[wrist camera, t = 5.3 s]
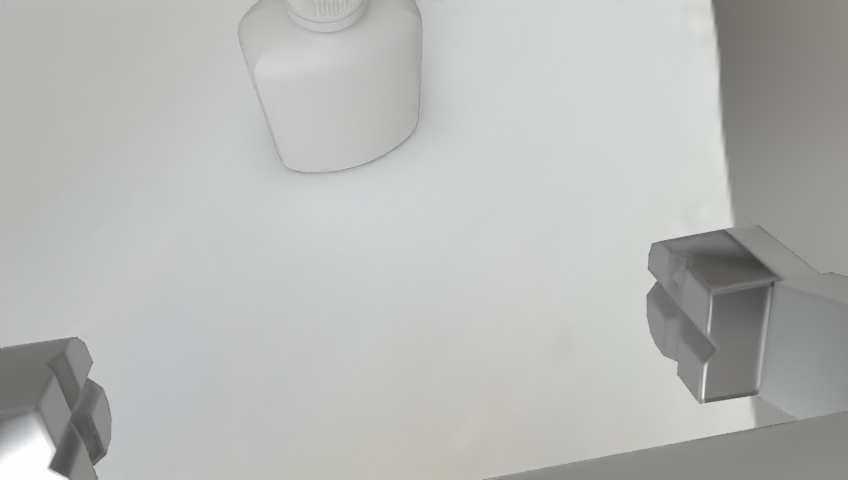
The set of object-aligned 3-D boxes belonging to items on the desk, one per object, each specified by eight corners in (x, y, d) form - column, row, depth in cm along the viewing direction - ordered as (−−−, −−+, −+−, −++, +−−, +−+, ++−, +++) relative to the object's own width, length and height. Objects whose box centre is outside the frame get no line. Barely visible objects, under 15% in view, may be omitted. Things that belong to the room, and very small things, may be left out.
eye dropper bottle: (287, 71, 30) (220, -174, 19) (424, 92, 30) (439, -142, 19) (264, 169, 29) (177, -31, 17) (407, 191, 29) (413, 4, 17)
